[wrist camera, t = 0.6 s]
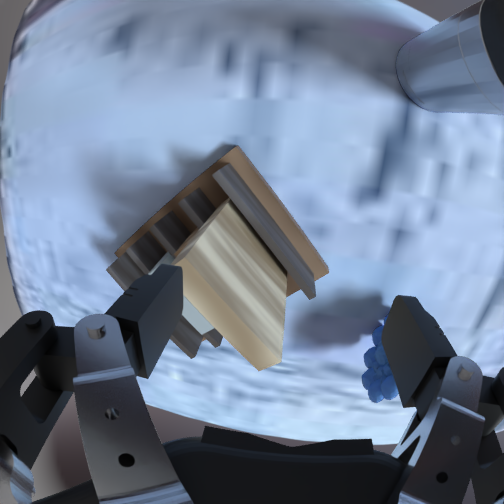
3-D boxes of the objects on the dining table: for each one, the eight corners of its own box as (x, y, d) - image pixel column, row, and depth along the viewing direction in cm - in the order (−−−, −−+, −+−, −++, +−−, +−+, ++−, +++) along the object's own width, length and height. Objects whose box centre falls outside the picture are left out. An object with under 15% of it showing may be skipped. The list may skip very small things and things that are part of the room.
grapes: (380, 360, 41) (394, 420, 30) (346, 350, 41) (355, 414, 30) (423, 306, 36) (454, 364, 25) (389, 291, 36) (416, 353, 25)
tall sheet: (235, 193, 31) (185, 257, 17) (288, 261, 34) (281, 361, 20) (221, 203, 32) (163, 273, 18) (274, 269, 35) (259, 371, 20)
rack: (238, 145, 31) (225, 150, 25) (328, 266, 35) (333, 295, 29) (119, 248, 38) (94, 269, 33) (200, 337, 43) (188, 366, 37)
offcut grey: (181, 240, 35) (157, 266, 28) (227, 293, 37) (214, 328, 31) (170, 248, 35) (146, 275, 29) (215, 300, 38) (201, 334, 32)
